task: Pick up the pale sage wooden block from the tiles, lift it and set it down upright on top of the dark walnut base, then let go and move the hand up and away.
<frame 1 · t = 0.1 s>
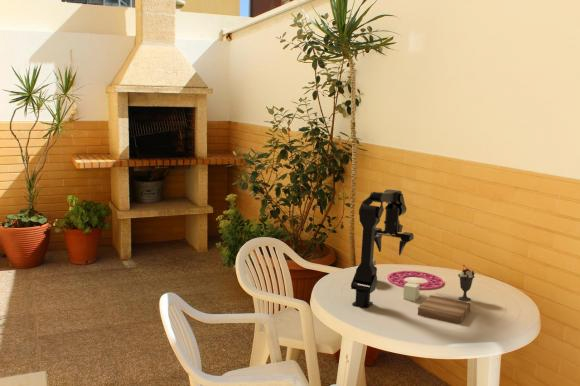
hand: (389, 253, 248), 15 cm above the table, tool pointing down, fingers open, 9 cm apart
walnut base: (444, 312, 220), on the table
sundae: (464, 299, 236), on the table
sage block: (410, 298, 235), on the table
food container: (368, 280, 257), on the table
trivet: (415, 281, 258), on the table
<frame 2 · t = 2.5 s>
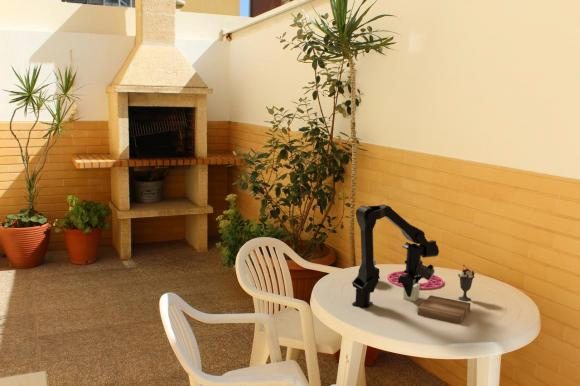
hand: (411, 294, 235), 2 cm above the table, tool pointing down, fingers closed on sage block, 5 cm apart
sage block: (410, 298, 235), on the table, touching gripper
everything else where it was.
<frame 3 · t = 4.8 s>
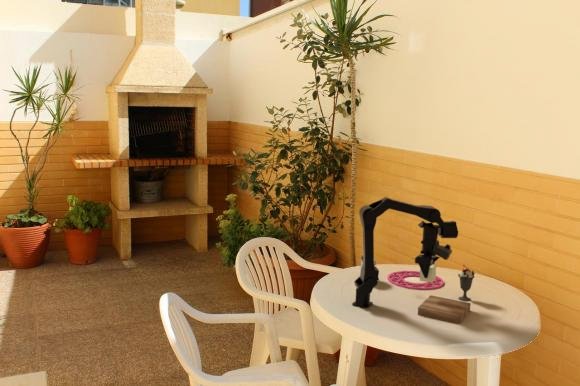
hand: (427, 276, 226), 12 cm above the table, tool pointing down, fingers closed on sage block, 5 cm apart
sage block: (427, 279, 227), point 10 cm above the table, touching gripper
everything else where it was.
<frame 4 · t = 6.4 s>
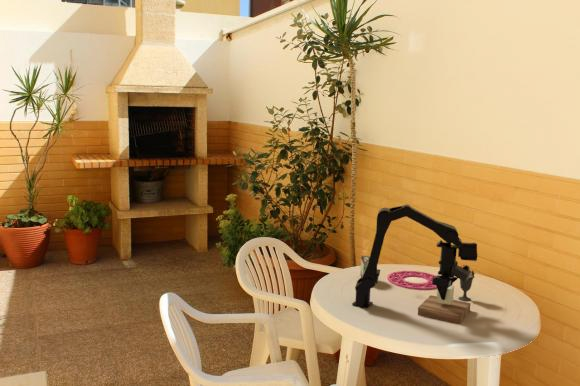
hand: (445, 297, 219), 6 cm above the table, tool pointing down, fingers closed on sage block, 5 cm apart
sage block: (444, 301, 219), point 5 cm above the table, touching gripper
everything else where it was.
when the fingers open (5 cm above the table, at t = 7.3 s): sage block stays where it is, resting on walnut base.
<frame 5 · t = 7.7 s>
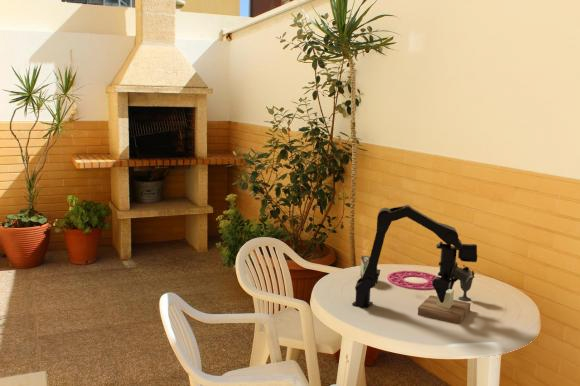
hand: (445, 299, 219), 5 cm above the table, tool pointing down, fingers open, 9 cm apart
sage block: (444, 305, 220), point 3 cm above the table, touching walnut base
everything else where it was.
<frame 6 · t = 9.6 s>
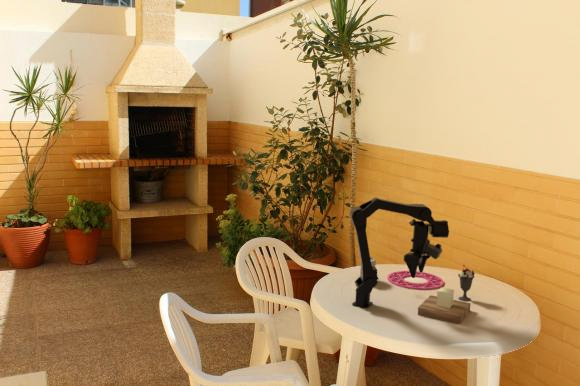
hand: (417, 274, 225), 13 cm above the table, tool pointing down, fingers open, 9 cm apart
nothing on the table moved.
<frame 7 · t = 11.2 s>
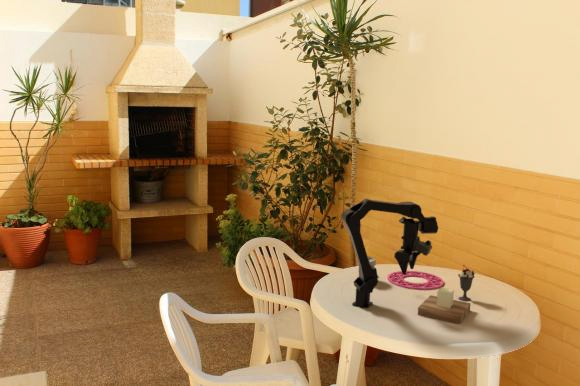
hand: (408, 271, 228), 13 cm above the table, tool pointing down, fingers open, 9 cm apart
nothing on the table moved.
at the end: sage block inside the target area on the walnut base (0.0 cm from its centre), point 3.0 cm above the walnut base's base; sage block tilted 0°; the gripper is holding nothing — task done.
